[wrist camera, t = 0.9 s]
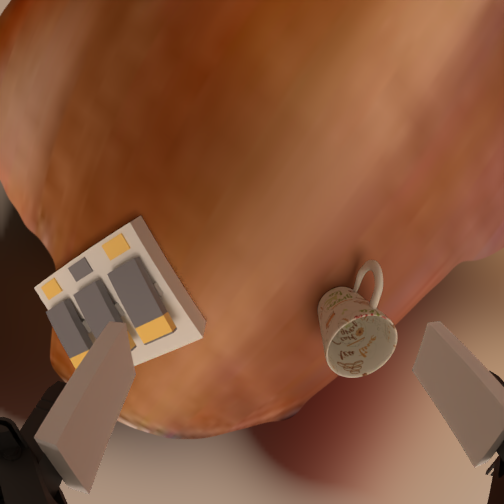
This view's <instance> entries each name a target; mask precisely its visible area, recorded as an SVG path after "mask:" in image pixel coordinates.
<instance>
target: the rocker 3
mask: <svg viewBox="0 0 504 504" xmlns="http://www.w3.org/2000/svg"><path fill="white" fill-rule="evenodd" d="M107 275H108V277H109V279H110V281H111V283H112V285H113V287H114V289H115V291H116V293H117V295H118V297H119V299H120V301H121V303H122V305H123V307H124V309H125V311H126V312H127V314H128V316H129V318H130V320H131V322H132V323H133V325H134V327H135V329H136V331H137V333H138V335H139V336H140V338H141V340H142V342H143V343H144V345H147V344H149V343H152V342H154V341H156V340H159V339H161V338H163V337H166V336H168V335H170V334H172V333H174V332H175V331H176V330H177V328H176V325H175V324H174V322H173V320H172V318H171V316H170V315H169V313H168V311H167V310H166V308H165V306H164V304H163V302H162V300H161V298H160V297H159V295H158V293H157V291H156V289H155V287H154V285H153V283H152V281H151V279H150V277H149V275H148V273H147V271H146V269H145V267H144V265H143V263H142V261H141V259H140V257H136V258H133V259H132V260H130V261H128V262H126V263H125V264H123V265H121V266H120V267H118V268H116V269H115V270H113V271H111V272H110V273H108V274H107Z"/></svg>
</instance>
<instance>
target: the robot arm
mask: <svg viewBox="0 0 504 504" xmlns="http://www.w3.org/2000/svg"><path fill="white" fill-rule="evenodd" d="M412 371H413V373H414V374H415V375H416V377H417V378H418V380H419V381H420V382H421V384H422V386H423V387H424V389H425V390H426V392H427V393H428V395H429V396H430V398H431V399H432V401H433V402H434V403H435V405H436V407H437V408H438V410H439V411H440V413H441V414H442V416H443V417H444V419H445V420H446V422H447V423H448V425H449V427H450V428H451V430H452V431H453V433H454V435H455V436H456V438H457V439H458V441H459V443H460V444H461V446H462V447H463V449H464V451H465V452H466V454H467V455H468V457H469V459H470V461H471V462H472V464H473V466H474V467H477V466H480V465H482V464H484V463H486V462H488V461H489V460H490V458H491V457H492V456H493V455H494V453H495V452H497V453H498V454H499V456H498V457H497V459H496V460H495V461H494V462H493V464H492V465H491V466H490V467H489V468H488V470H487V471H486V474H487V475H488V473H489V472H490V471H491V470H492V468H494V471H493V472H492V474H491V476H493V478H492V484H491V489H490V494H489V499H488V503H487V504H504V382H503V381H502V379H501V378H500V377H499V376H497V375H496V374H494V373H493V372H491V371H488V370H487V368H486V367H485V366H484V365H483V364H482V363H481V362H480V361H479V360H478V359H477V358H476V357H475V356H474V355H473V354H472V353H471V352H470V351H469V350H468V349H467V348H466V347H465V346H464V345H463V343H462V342H461V341H459V340H458V338H457V337H456V336H455V335H454V334H453V333H452V332H450V330H448V328H446V327H445V326H444V325H443V324H442V323H441V322H429V323H428V324H427V327H426V330H425V334H424V337H423V340H422V343H421V346H420V349H419V352H418V355H417V358H416V361H415V364H414V366H413V369H412ZM135 375H136V373H135V369H134V364H133V359H132V354H131V349H130V344H129V338H128V333H127V327H126V323H121V322H111V321H109V323H108V324H107V325H106V327H105V328H104V330H103V331H102V332H101V334H100V335H99V337H98V338H97V339H96V341H95V342H94V344H93V345H92V347H91V348H90V350H89V351H88V353H87V354H86V355H85V357H84V358H83V360H82V361H81V363H80V364H79V366H78V367H77V369H76V370H75V372H74V373H73V375H72V376H71V378H70V379H69V381H68V383H64V382H60V381H58V382H56V383H55V384H53V385H52V386H51V387H49V388H48V389H47V390H46V392H45V393H44V395H43V396H42V398H41V400H40V401H39V402H38V404H37V405H36V408H34V410H33V411H32V413H31V414H30V416H29V417H28V419H27V420H26V422H25V424H24V425H23V427H22V428H21V430H20V431H19V429H18V427H17V426H16V424H15V423H14V422H13V421H12V420H11V419H8V418H5V417H0V504H67V502H66V499H65V497H64V495H63V492H62V491H61V489H60V488H59V486H60V484H61V481H62V480H63V481H64V482H65V484H66V485H67V486H68V487H69V488H71V489H74V490H77V491H80V492H83V493H86V494H89V493H90V490H91V488H92V485H93V482H94V479H95V476H96V473H97V470H98V468H99V465H100V462H101V460H102V457H103V455H104V452H105V449H106V446H107V444H108V441H109V439H110V436H111V434H112V431H113V429H114V426H115V424H116V421H117V419H118V416H119V414H120V411H121V409H122V406H123V404H124V401H125V399H126V397H127V394H128V392H129V389H130V387H131V385H132V382H133V380H134V378H135Z"/></svg>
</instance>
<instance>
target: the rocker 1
mask: <svg viewBox="0 0 504 504" xmlns="http://www.w3.org/2000/svg"><path fill="white" fill-rule="evenodd" d="M46 314H47V316H48V318H49V320H50V322H51V324H52V326H53V328H54V330H55V332H56V334H57V336H58V338H59V340H60V341H61V343H62V345H63V347H64V349H65V351H66V352H67V354H68V356H69V358H70V360H71V362H72V363H73V365H74V367H75V368H76V369H77V367H78V366H79V364H80V363H81V361H82V360H83V358H84V357H85V355H86V354H87V353H88V351H89V350H90V348H91V347H92V345H93V343H92V341H91V339H90V337H89V336H88V334H87V332H86V330H85V328H84V326H83V324H82V322H81V321H80V319H79V317H78V315H77V313H76V311H75V309H74V307H73V305H72V303H71V300H70V298H69V299H67V300H64V301H62V302H61V303H59V304H57V305H56V306H54V307H53V308H51V309H50V310H48V311H47V312H46Z"/></svg>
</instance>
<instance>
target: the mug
mask: <svg viewBox="0 0 504 504" xmlns="http://www.w3.org/2000/svg"><path fill="white" fill-rule="evenodd" d="M369 270H372V272H373V273H374V279H375V288H374V292H373V295H372V298H371V300H370V303H369V302H368V301H367V300H366V299H364V298H363V297H362V296H361V295H359V294H358V293H357V291H358V289H359V286H360V284H361V281H362V279H363V277H364V275H365V273H366V272H367V271H369ZM382 290H383V274H382V270H381V267H380V265H379V263H378V262H377V261H375V260H368V261H367V262H366V263H365V264H364V265H363V266H362V267H361V269H360V270H359V272H358V274H357V277H356V281H355V285H354V290H353V289H351V288H348V287H337V288H334V289H331V290H330V291H328V292H327V293H326V294H325V295H324V296H323V297H322V298H321V300H320V302H319V304H318V318H319V323H320V329H321V335H322V340H323V346H324V352H325V357H326V361H327V363H328V365H329V367H330V368H331V369H332V370H333V371H334V372H335V373H336V374H338V375H340V376H344V377H350V378H351V377H352V378H354V377H361V376H364V375H367V374H370V373H372V372H374V371H376V370H377V369H379V368H380V367H381V366H382V365H384V364H385V363H386V362H387V360H388V359H389V358H390V357H391V355H392V353H393V351H394V350H395V347H396V344H397V331H396V328H395V326H394V324H393V322H392V321H391V320H390V319H389V318H388V317H387V316H386V315H384V314H383V313H382V312H381V311H379V310H378V309H377V305H378V302H379V300H380V297H381V294H382Z"/></svg>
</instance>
